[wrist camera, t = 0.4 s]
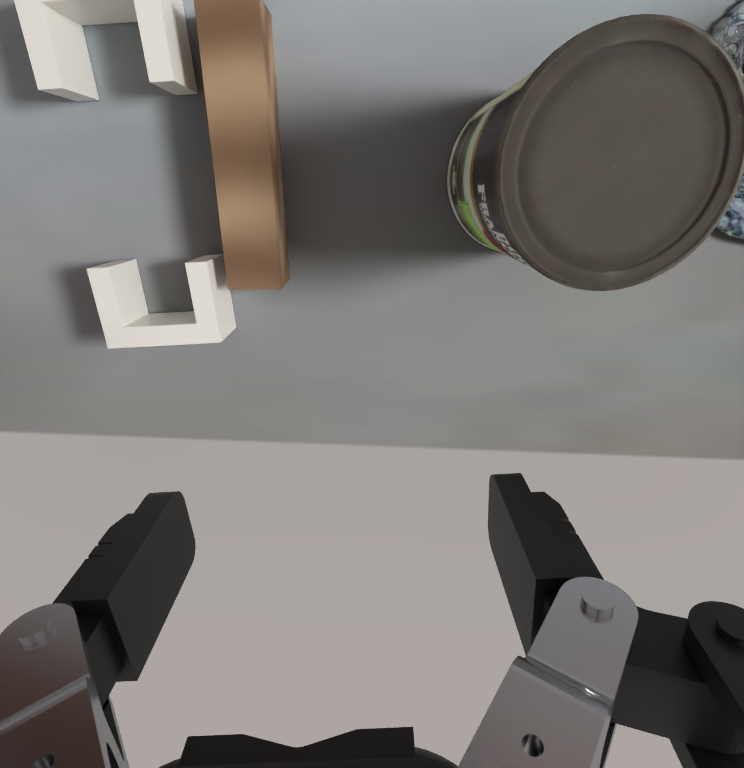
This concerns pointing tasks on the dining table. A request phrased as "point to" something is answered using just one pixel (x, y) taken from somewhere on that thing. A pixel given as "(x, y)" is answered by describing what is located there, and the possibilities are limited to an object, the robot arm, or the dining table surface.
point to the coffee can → (606, 154)
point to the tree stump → (740, 39)
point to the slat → (244, 139)
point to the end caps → (76, 82)
